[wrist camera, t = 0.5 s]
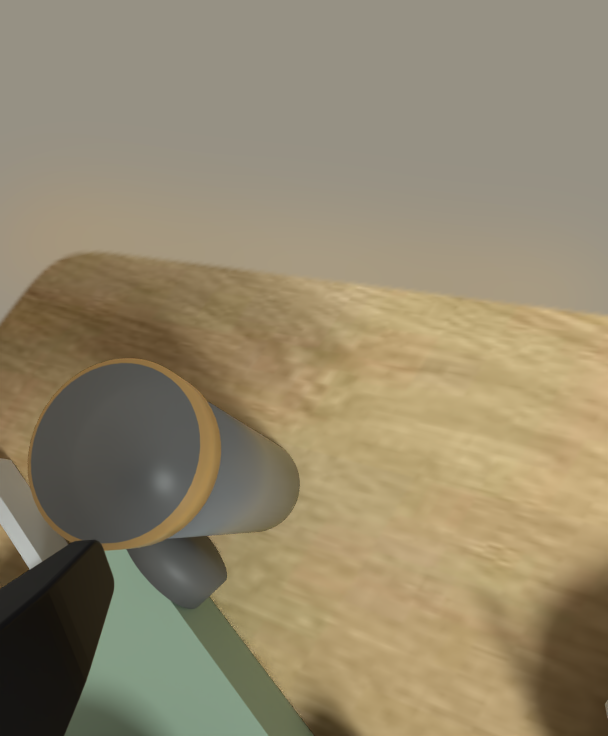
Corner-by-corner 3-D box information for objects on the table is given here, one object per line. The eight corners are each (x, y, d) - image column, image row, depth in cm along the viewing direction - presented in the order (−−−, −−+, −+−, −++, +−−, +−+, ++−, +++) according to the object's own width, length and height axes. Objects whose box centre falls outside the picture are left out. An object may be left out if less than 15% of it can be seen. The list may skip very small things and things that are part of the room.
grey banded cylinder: (318, 511, 23) (232, 502, 11) (227, 551, 23) (49, 583, 12) (281, 421, 25) (170, 327, 13) (195, 459, 25) (7, 402, 13)
